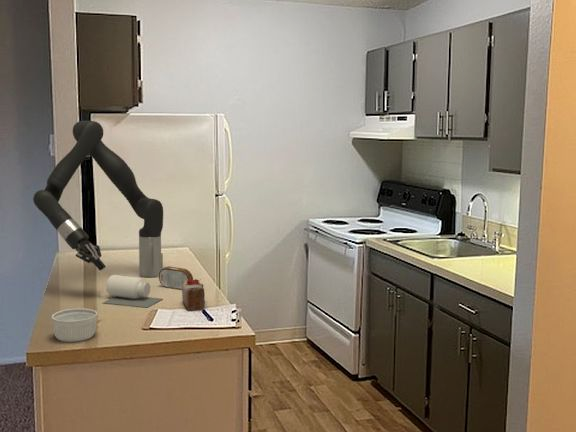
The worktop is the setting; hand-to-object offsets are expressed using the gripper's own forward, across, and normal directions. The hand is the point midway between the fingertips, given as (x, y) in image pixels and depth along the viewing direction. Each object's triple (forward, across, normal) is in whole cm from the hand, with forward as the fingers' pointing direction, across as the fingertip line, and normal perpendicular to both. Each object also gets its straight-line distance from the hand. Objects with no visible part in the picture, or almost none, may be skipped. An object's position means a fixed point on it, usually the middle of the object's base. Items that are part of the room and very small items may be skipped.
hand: (102, 268), depth 233 cm
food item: (+33, +2, -17) cm, 37 cm away
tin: (+21, +23, -5) cm, 31 cm away
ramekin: (+19, -40, -2) cm, 45 cm away
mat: (+17, 0, 0) cm, 17 cm away
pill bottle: (+6, +4, +4) cm, 8 cm away
